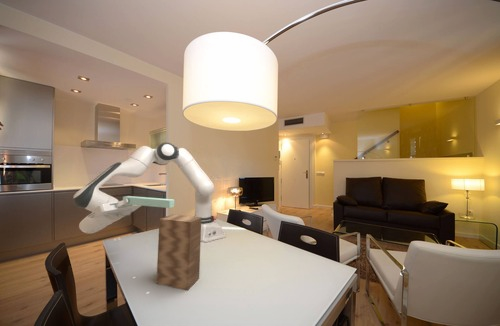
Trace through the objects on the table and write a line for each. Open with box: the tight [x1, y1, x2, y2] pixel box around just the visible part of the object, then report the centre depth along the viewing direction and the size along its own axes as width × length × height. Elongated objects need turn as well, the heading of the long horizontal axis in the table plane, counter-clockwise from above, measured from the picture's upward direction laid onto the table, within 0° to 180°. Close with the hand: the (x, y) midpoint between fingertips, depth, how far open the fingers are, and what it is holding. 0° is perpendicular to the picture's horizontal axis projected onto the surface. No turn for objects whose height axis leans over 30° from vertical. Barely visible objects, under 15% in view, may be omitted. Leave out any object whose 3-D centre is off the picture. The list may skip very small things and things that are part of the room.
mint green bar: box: [122, 195, 175, 209], centre depth 80 cm, size 24×3×3 cm, turn 75°
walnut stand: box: [155, 214, 202, 291], centre depth 75 cm, size 14×8×25 cm, turn 75°
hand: (132, 199), depth 82 cm, fingers closed on mint green bar, 3 cm apart
